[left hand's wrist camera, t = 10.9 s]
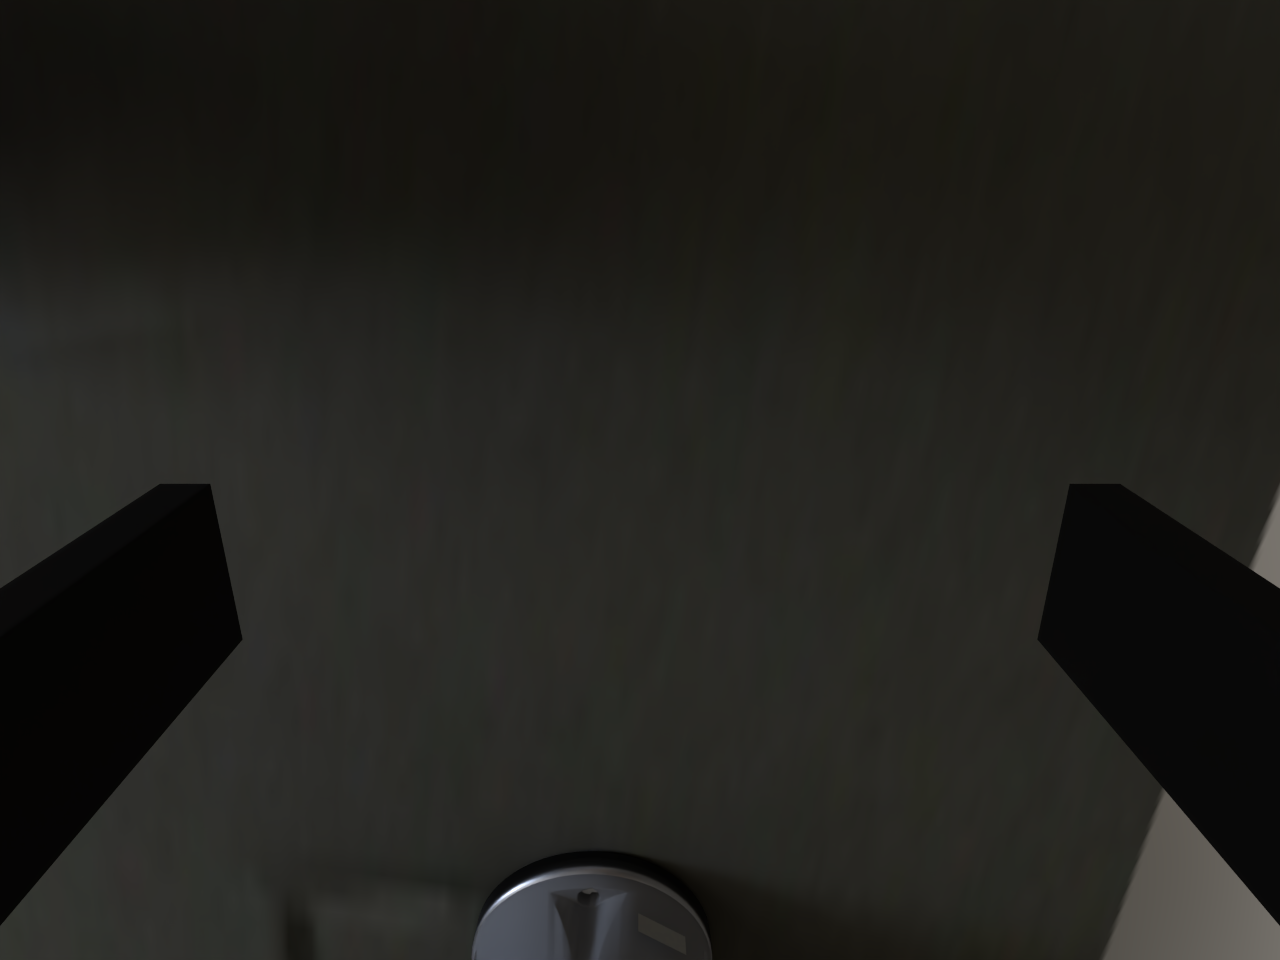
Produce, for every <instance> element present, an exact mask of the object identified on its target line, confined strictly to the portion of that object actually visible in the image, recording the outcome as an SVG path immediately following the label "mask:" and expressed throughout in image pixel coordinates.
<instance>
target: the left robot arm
mask: <svg viewBox="0 0 1280 960" xmlns="http://www.w3.org/2000/svg"><path fill="white" fill-rule="evenodd" d="M241 641H242V635H241V630H240V625H239V620H238V615H237V611H236V606H235V601H234V596H233V591H232V587H231V582H230V577H229V572H228V567H227V562H226V558H225V553H224V548H223V543H222V538H221V534H220V529H219V524H218V519H217V514H216V510H215V505H214V500H213V495H212V490H211V486H210V484H159V485H158V486H156V487H155V488H153V489H152V490H150V491H149V492H147V493H145V494H144V495H142V496H141V497H139V498H138V499H136V500H135V501H133V502H132V503H130V504H129V505H127V506H126V507H124V508H123V509H121V510H119V511H118V512H116V513H115V514H113V515H112V516H110V517H109V518H107V519H106V520H104V521H103V522H101V523H100V524H98V525H97V526H95V527H93V528H92V529H90V530H89V531H87V532H86V533H84V534H83V535H81V536H80V537H78V538H77V539H75V540H74V541H72V542H71V543H69V544H68V545H66V546H64V547H63V548H61V549H60V550H58V551H57V552H55V553H54V554H52V555H51V556H49V557H48V558H46V559H45V560H43V561H42V562H40V563H38V564H37V565H35V566H34V567H32V568H31V569H29V570H28V571H26V572H25V573H23V574H22V575H20V576H19V577H17V578H16V579H14V580H13V581H11V582H9V583H8V584H6V585H5V586H3V587H2V588H0V925H1V924H2V923H3V922H4V921H5V919H6V918H7V917H8V916H9V915H10V913H11V912H12V911H13V910H14V909H15V908H16V906H17V905H18V904H19V903H20V902H21V900H22V899H23V898H24V897H25V896H26V895H27V893H28V892H29V891H30V890H31V889H32V887H33V886H34V885H35V884H36V883H37V882H38V880H39V879H40V878H41V877H42V876H43V874H44V873H45V872H46V871H47V870H48V869H49V867H50V866H51V865H52V864H53V863H54V861H55V860H56V859H57V858H58V857H59V856H60V854H61V853H62V852H63V851H64V850H65V848H66V847H67V846H68V845H69V844H70V843H71V841H72V840H73V839H74V838H75V837H76V835H77V834H78V833H79V832H80V831H81V830H82V828H83V827H84V826H85V825H86V824H87V823H88V821H89V820H90V819H91V818H92V817H93V815H94V814H95V813H96V812H97V811H98V810H99V808H100V807H101V806H102V805H103V804H104V802H105V801H106V800H107V799H108V798H109V797H110V795H111V794H112V793H113V792H114V791H115V789H116V788H117V787H118V786H119V785H120V784H121V782H122V781H123V780H124V779H125V778H126V776H127V775H128V774H129V773H130V772H131V771H132V769H133V768H134V767H135V766H136V765H137V763H138V762H139V761H140V760H141V759H142V758H143V756H144V755H145V754H146V753H147V752H148V750H149V749H150V748H151V747H152V746H153V745H154V743H155V742H156V741H157V740H158V739H159V737H160V736H161V735H162V734H163V733H164V732H165V730H166V729H167V728H168V727H169V726H170V724H171V723H172V722H173V721H174V720H175V719H176V717H177V716H178V715H179V714H180V713H181V711H182V710H183V709H184V708H185V707H186V706H187V704H188V703H189V702H190V701H191V700H192V698H193V697H194V696H195V695H196V694H197V693H198V691H199V690H200V689H201V688H202V687H203V685H204V684H205V683H206V682H207V681H208V680H209V678H210V677H211V676H212V675H213V674H214V672H215V671H216V670H217V669H218V668H219V667H220V665H221V664H222V663H223V662H224V661H225V659H226V658H227V657H228V656H229V655H230V654H231V652H232V651H233V650H234V649H235V648H236V646H237V645H238V644H239V643H240V642H241ZM1038 641H1039V642H1040V643H1041V644H1042V645H1043V646H1044V648H1045V649H1046V650H1047V651H1048V652H1049V654H1050V655H1051V656H1052V657H1053V658H1054V659H1055V661H1056V662H1057V663H1058V664H1059V665H1060V667H1061V668H1062V669H1063V670H1064V671H1065V672H1066V674H1067V675H1068V676H1069V677H1070V678H1071V680H1072V681H1073V682H1074V683H1075V684H1076V685H1077V687H1078V688H1079V689H1080V690H1081V691H1082V693H1083V694H1084V695H1085V696H1086V697H1087V698H1088V700H1089V701H1090V702H1091V703H1092V704H1093V706H1094V707H1095V708H1096V709H1097V710H1098V711H1099V713H1100V714H1101V715H1102V716H1103V717H1104V719H1105V720H1106V721H1107V722H1108V723H1109V724H1110V726H1111V727H1112V728H1113V729H1114V730H1115V732H1116V733H1117V734H1118V735H1119V736H1120V737H1121V739H1122V740H1123V741H1124V742H1125V743H1126V745H1127V746H1128V747H1129V748H1130V749H1131V750H1132V752H1133V753H1134V754H1135V755H1136V756H1137V758H1138V759H1139V760H1140V761H1141V762H1142V763H1143V765H1144V766H1145V767H1146V768H1147V769H1148V771H1149V772H1150V773H1151V774H1152V775H1153V776H1154V778H1155V779H1156V780H1157V781H1158V782H1159V784H1160V785H1161V786H1162V787H1163V788H1164V789H1165V791H1166V792H1167V793H1168V794H1169V795H1170V796H1171V798H1172V799H1173V800H1174V801H1175V802H1176V804H1177V805H1178V806H1179V807H1180V808H1181V809H1182V811H1183V812H1184V813H1185V814H1186V815H1187V817H1188V818H1189V819H1190V820H1191V821H1192V823H1193V824H1194V825H1195V826H1196V827H1197V828H1198V830H1199V831H1200V832H1201V833H1202V834H1203V835H1204V837H1205V838H1206V839H1207V840H1208V841H1209V843H1210V844H1211V845H1212V846H1213V847H1214V848H1215V850H1216V851H1217V852H1218V853H1219V854H1220V856H1221V857H1222V858H1223V859H1224V860H1225V861H1226V863H1227V864H1228V865H1229V866H1230V867H1231V869H1232V870H1233V871H1234V872H1235V873H1236V874H1237V876H1238V877H1239V878H1240V879H1241V880H1242V881H1243V883H1244V884H1245V885H1246V886H1247V887H1248V889H1249V890H1250V891H1251V892H1252V893H1253V895H1254V896H1255V897H1256V898H1257V899H1258V900H1259V902H1260V903H1261V904H1262V905H1263V906H1264V908H1265V909H1266V910H1267V911H1268V912H1269V913H1270V915H1271V916H1272V917H1273V918H1274V919H1275V921H1276V922H1277V923H1278V924H1279V925H1280V588H1278V587H1277V586H1275V585H1274V584H1272V583H1271V582H1269V581H1267V580H1266V579H1264V578H1263V577H1261V576H1260V575H1258V574H1257V573H1255V572H1254V571H1252V570H1251V569H1249V568H1248V567H1246V566H1245V565H1243V564H1242V563H1240V562H1238V561H1237V560H1235V559H1234V558H1232V557H1231V556H1229V555H1228V554H1226V553H1225V552H1223V551H1222V550H1220V549H1219V548H1217V547H1216V546H1214V545H1212V544H1211V543H1209V542H1208V541H1206V540H1205V539H1203V538H1202V537H1200V536H1199V535H1197V534H1196V533H1194V532H1193V531H1191V530H1190V529H1188V528H1187V527H1185V526H1183V525H1182V524H1180V523H1179V522H1177V521H1176V520H1174V519H1173V518H1171V517H1170V516H1168V515H1167V514H1165V513H1164V512H1162V511H1161V510H1159V509H1157V508H1156V507H1154V506H1153V505H1151V504H1150V503H1148V502H1147V501H1145V500H1144V499H1142V498H1141V497H1139V496H1138V495H1136V494H1135V493H1133V492H1131V491H1130V490H1128V489H1127V488H1125V487H1124V486H1122V485H1121V484H1070V486H1069V490H1068V495H1067V500H1066V505H1065V510H1064V514H1063V519H1062V524H1061V529H1060V534H1059V538H1058V543H1057V548H1056V553H1055V558H1054V562H1053V567H1052V572H1051V577H1050V582H1049V587H1048V591H1047V596H1046V601H1045V606H1044V611H1043V615H1042V620H1041V625H1040V630H1039V635H1038ZM472 960H712V949H711V939H710V930H709V924H708V920H707V917H706V914H705V912H704V910H703V908H702V906H701V904H700V903H699V901H698V900H697V898H696V897H695V896H694V894H693V893H692V892H691V891H690V890H689V889H688V888H687V887H686V886H685V885H684V884H683V883H682V882H681V881H679V880H678V879H677V878H676V877H674V876H673V875H671V874H670V873H668V872H667V871H665V870H663V869H661V868H660V867H657V866H655V865H653V864H651V863H649V862H646V861H643V860H640V859H637V858H634V857H630V856H626V855H621V854H616V853H608V852H574V853H566V854H561V855H556V856H552V857H548V858H545V859H542V860H539V861H536V862H534V863H532V864H529V865H527V866H525V867H523V868H521V869H520V870H518V871H516V872H515V873H513V874H512V875H510V876H509V877H508V878H506V879H505V880H504V881H503V882H502V883H501V884H499V885H498V886H497V888H496V889H495V890H494V891H493V892H492V893H491V895H490V896H489V897H488V899H487V900H486V902H485V904H484V906H483V908H482V910H481V913H480V915H479V919H478V923H477V928H476V933H475V937H474V942H473V946H472Z"/></svg>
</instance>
